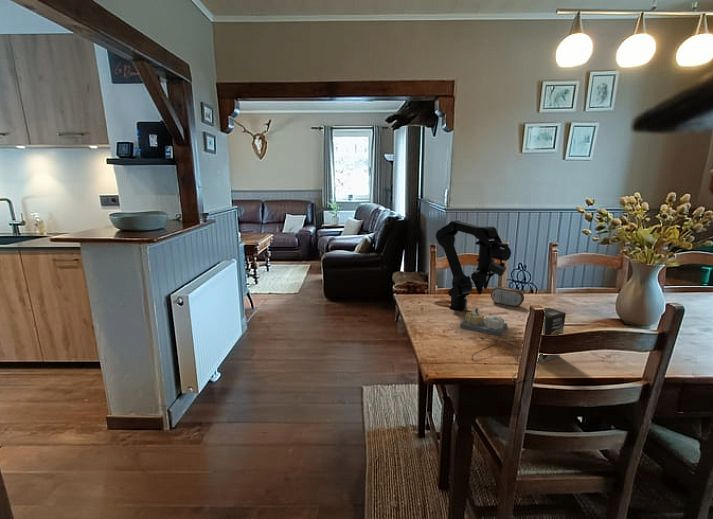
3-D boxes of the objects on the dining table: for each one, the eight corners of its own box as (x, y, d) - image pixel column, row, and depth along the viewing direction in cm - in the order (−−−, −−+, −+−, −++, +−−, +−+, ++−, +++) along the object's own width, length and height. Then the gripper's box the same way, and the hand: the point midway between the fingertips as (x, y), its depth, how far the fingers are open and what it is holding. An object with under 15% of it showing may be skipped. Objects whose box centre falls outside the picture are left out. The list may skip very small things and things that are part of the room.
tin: (523, 306, 177) (525, 289, 175) (522, 308, 174) (524, 291, 172) (490, 300, 185) (492, 284, 183) (489, 302, 182) (490, 286, 180)
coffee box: (543, 362, 124) (549, 317, 120) (526, 354, 129) (531, 311, 126) (560, 356, 128) (566, 312, 124) (544, 349, 133) (549, 306, 130)
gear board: (460, 327, 152) (461, 312, 151) (468, 318, 161) (469, 304, 160) (501, 336, 144) (502, 320, 142) (506, 326, 153) (508, 312, 151)
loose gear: (501, 330, 145) (501, 323, 145) (483, 326, 149) (483, 319, 149) (505, 324, 151) (505, 317, 151) (487, 321, 155) (488, 314, 154)
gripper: (500, 262, 145) (497, 300, 148) (510, 254, 160) (506, 289, 164) (472, 259, 151) (469, 295, 154) (483, 251, 166) (481, 285, 170)
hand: (482, 291), depth 160 cm, fingers open, 9 cm apart
